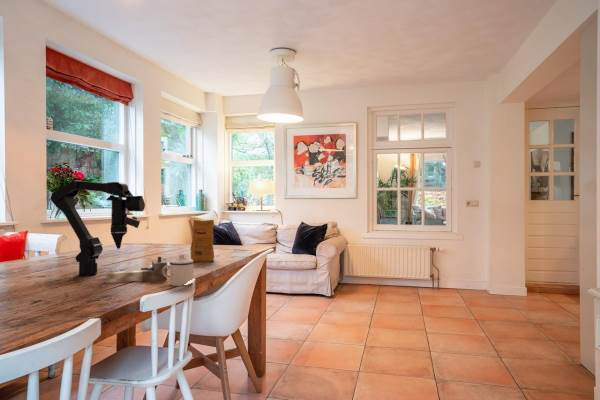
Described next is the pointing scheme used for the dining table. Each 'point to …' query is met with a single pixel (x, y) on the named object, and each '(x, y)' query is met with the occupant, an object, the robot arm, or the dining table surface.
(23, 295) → the dining table surface
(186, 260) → the teacup with lid
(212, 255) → the coffee package
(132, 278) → the rail
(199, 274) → the dining table surface
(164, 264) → the knobbed grey box
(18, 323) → the dining table surface
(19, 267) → the dining table surface
